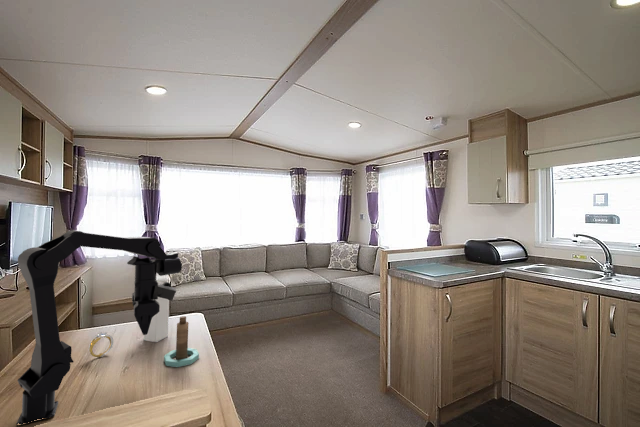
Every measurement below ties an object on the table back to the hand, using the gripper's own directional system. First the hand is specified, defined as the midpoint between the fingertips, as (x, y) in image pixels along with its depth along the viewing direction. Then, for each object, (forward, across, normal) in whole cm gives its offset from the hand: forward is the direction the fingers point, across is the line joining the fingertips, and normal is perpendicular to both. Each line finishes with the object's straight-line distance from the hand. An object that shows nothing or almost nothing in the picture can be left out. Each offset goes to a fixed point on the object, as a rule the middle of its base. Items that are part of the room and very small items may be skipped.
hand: (144, 329), depth 93 cm
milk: (+13, +26, -6) cm, 30 cm away
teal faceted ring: (+13, +3, -12) cm, 18 cm away
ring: (+13, +18, +11) cm, 25 cm away
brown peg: (+13, +3, -11) cm, 18 cm away
